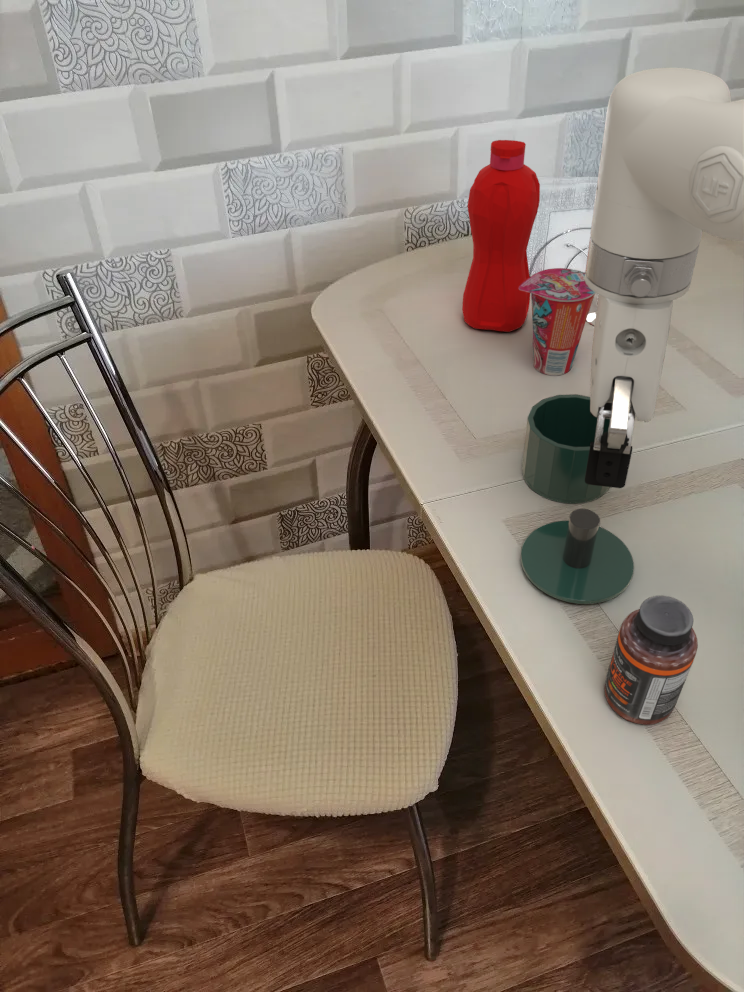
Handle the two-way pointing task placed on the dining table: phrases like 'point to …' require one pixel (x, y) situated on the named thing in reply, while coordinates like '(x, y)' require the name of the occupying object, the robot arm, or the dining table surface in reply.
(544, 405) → the pot
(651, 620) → the supplement bottle
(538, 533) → the lid
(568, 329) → the cup
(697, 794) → the dining table surface
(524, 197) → the water bottle
